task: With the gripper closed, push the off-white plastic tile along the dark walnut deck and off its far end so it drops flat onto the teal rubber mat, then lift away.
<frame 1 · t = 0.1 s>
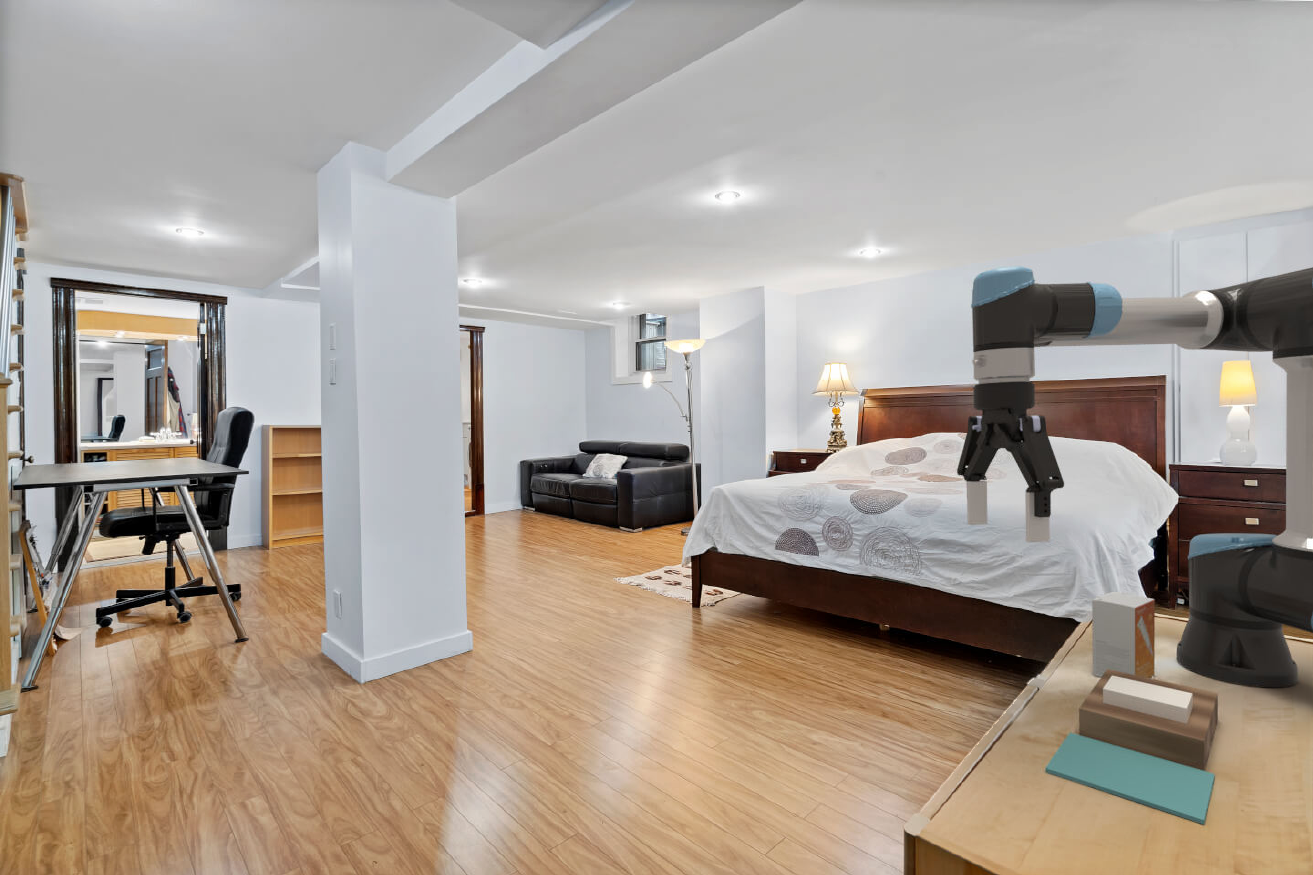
hand: (1005, 532, 89), 28 cm above the table, tool pointing down, fingers open, 13 cm apart
walnut deck: (1149, 728, 88), on the table
tile: (1147, 705, 87), point 4 cm above the table, touching walnut deck
teal mat: (1128, 774, 78), on the table
small box: (1123, 676, 106), on the table
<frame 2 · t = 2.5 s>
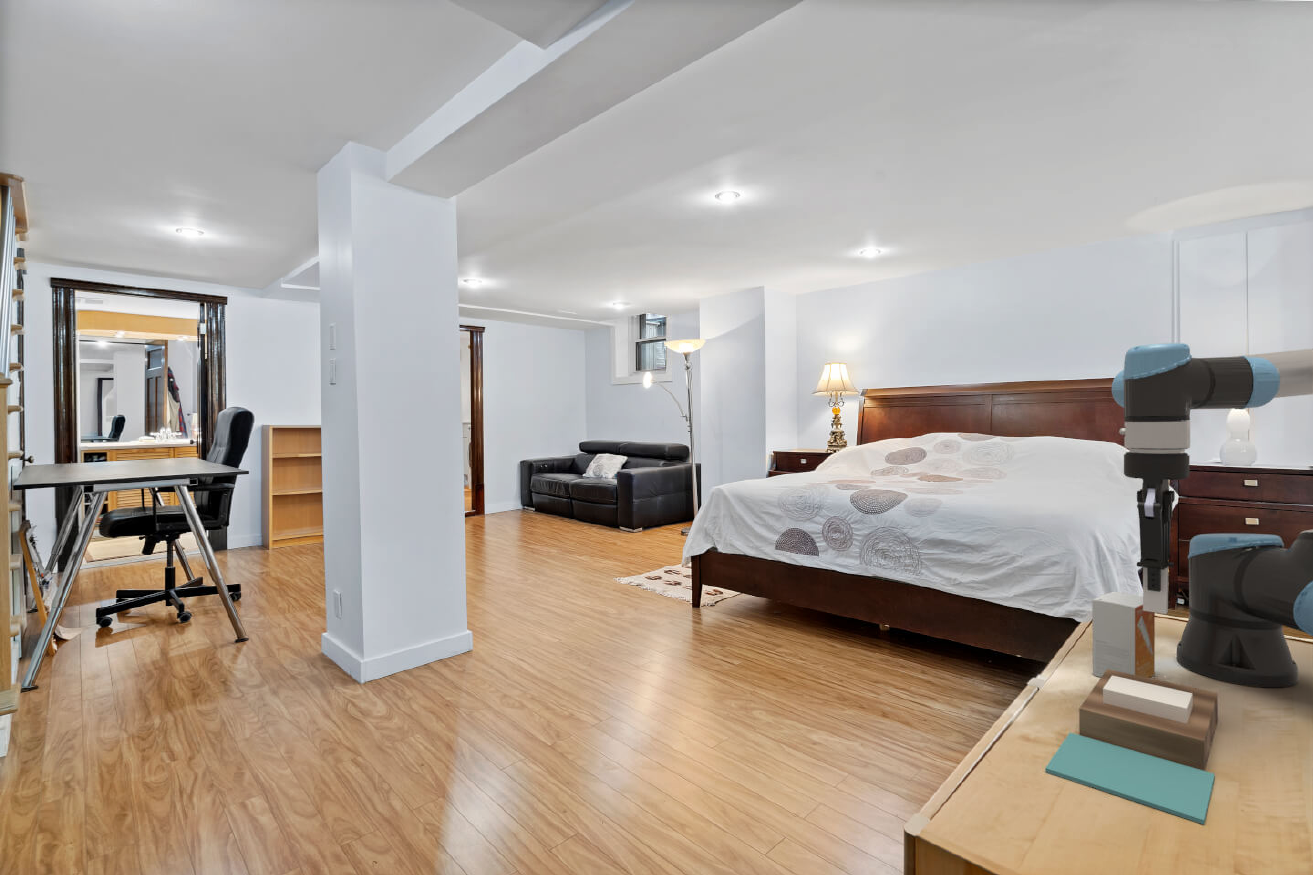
hand: (1155, 611, 93), 15 cm above the table, tool pointing down, fingers closed
nothing on the table moved.
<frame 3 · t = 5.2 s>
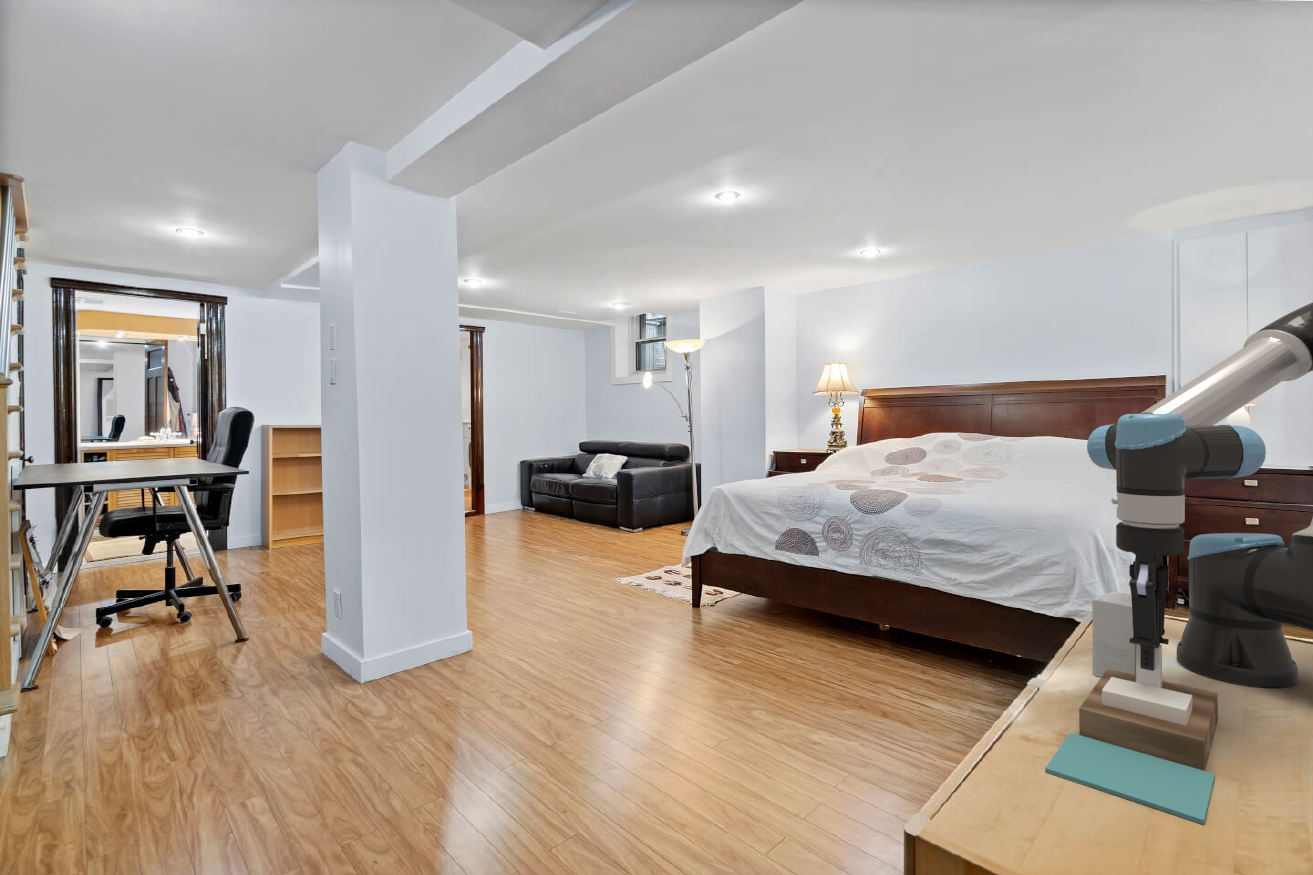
hand: (1148, 689, 89), 5 cm above the table, tool pointing down, fingers closed
tile: (1146, 706, 86), point 4 cm above the table, touching gripper, walnut deck
everything else where it was.
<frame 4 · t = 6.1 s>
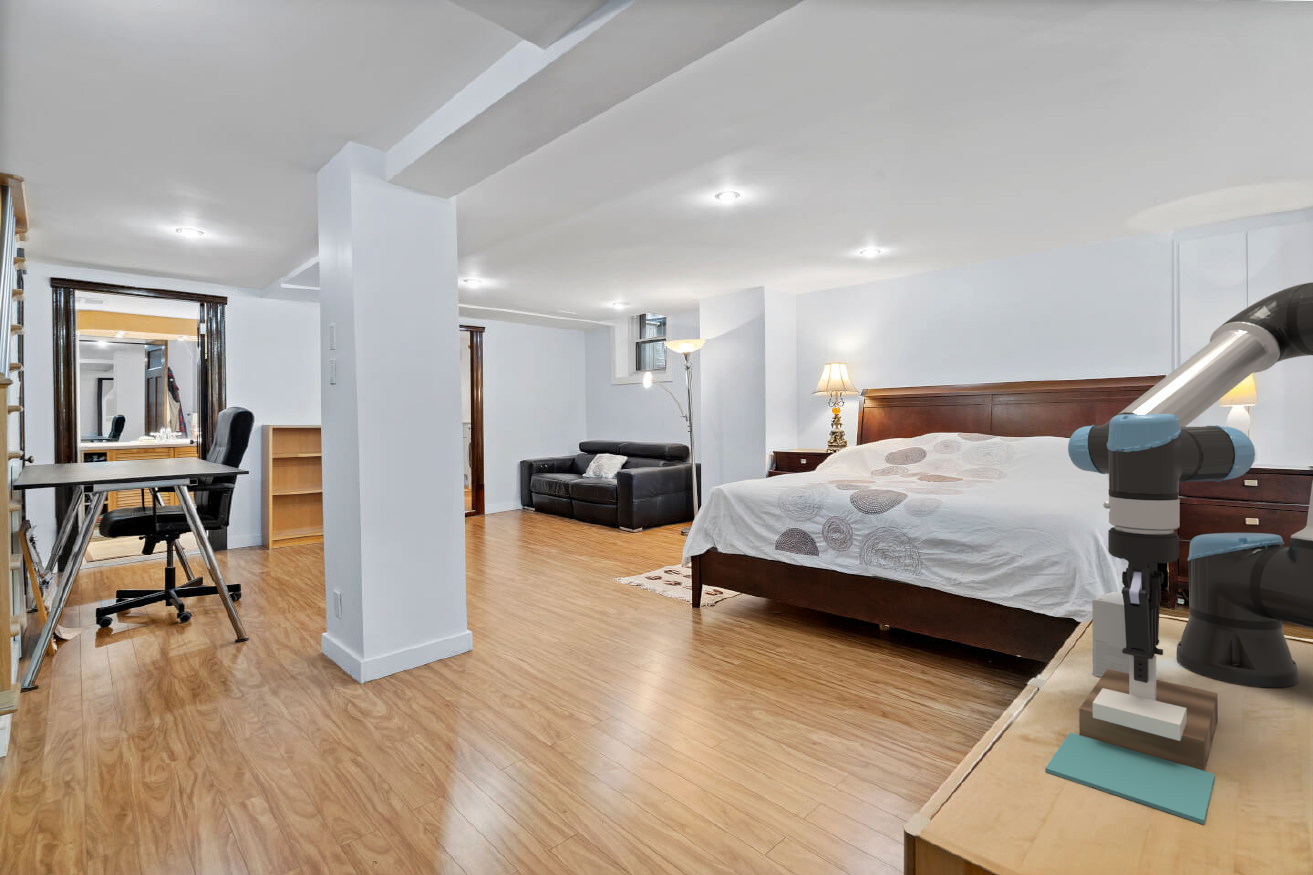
hand: (1142, 701, 85), 5 cm above the table, tool pointing down, fingers closed
tile: (1138, 720, 83), point 4 cm above the table, touching gripper
everything else where it was.
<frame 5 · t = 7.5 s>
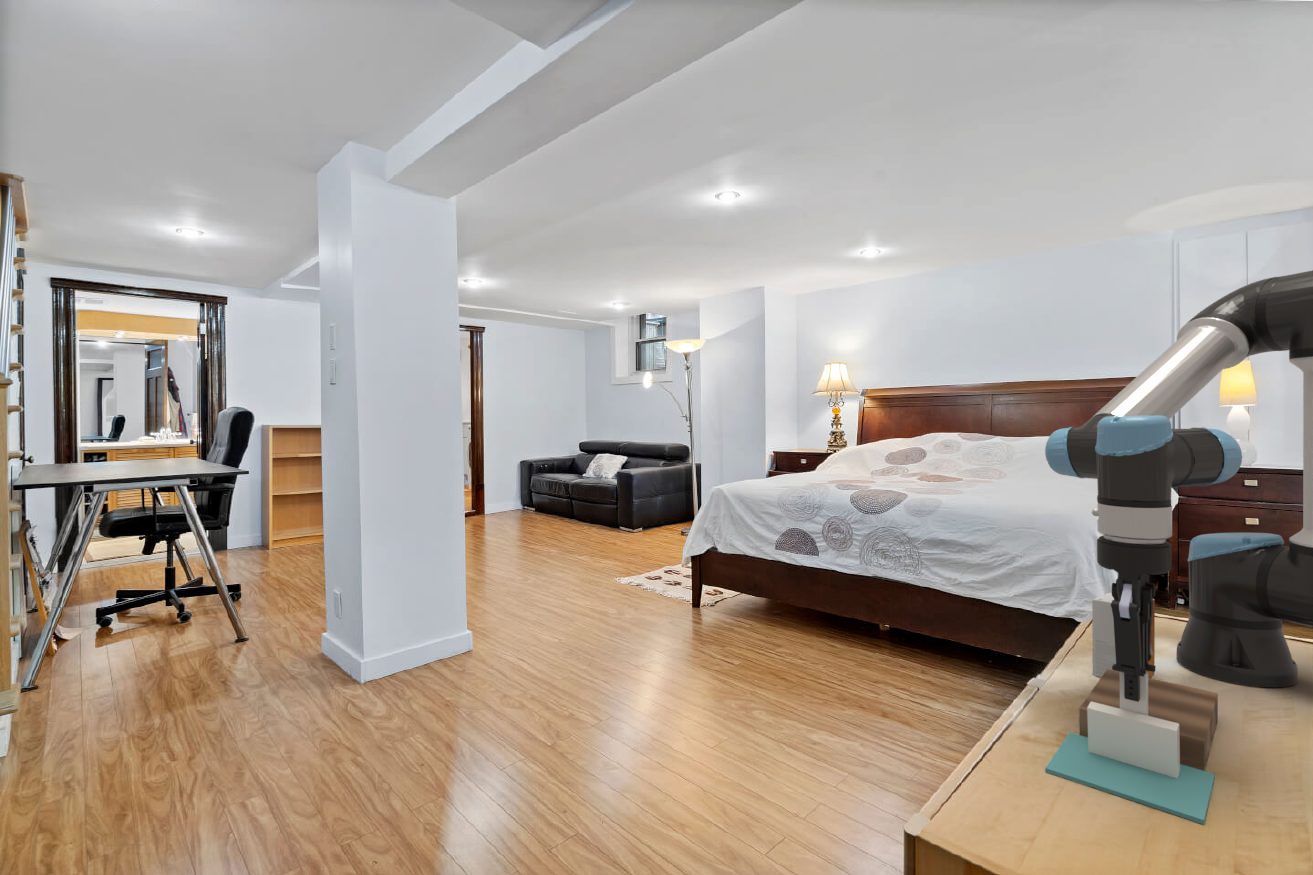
hand: (1134, 721, 80), 5 cm above the table, tool pointing down, fingers closed
tile: (1133, 734, 80), point 4 cm above the table, tilted 95°, touching gripper, teal mat
everything else where it was.
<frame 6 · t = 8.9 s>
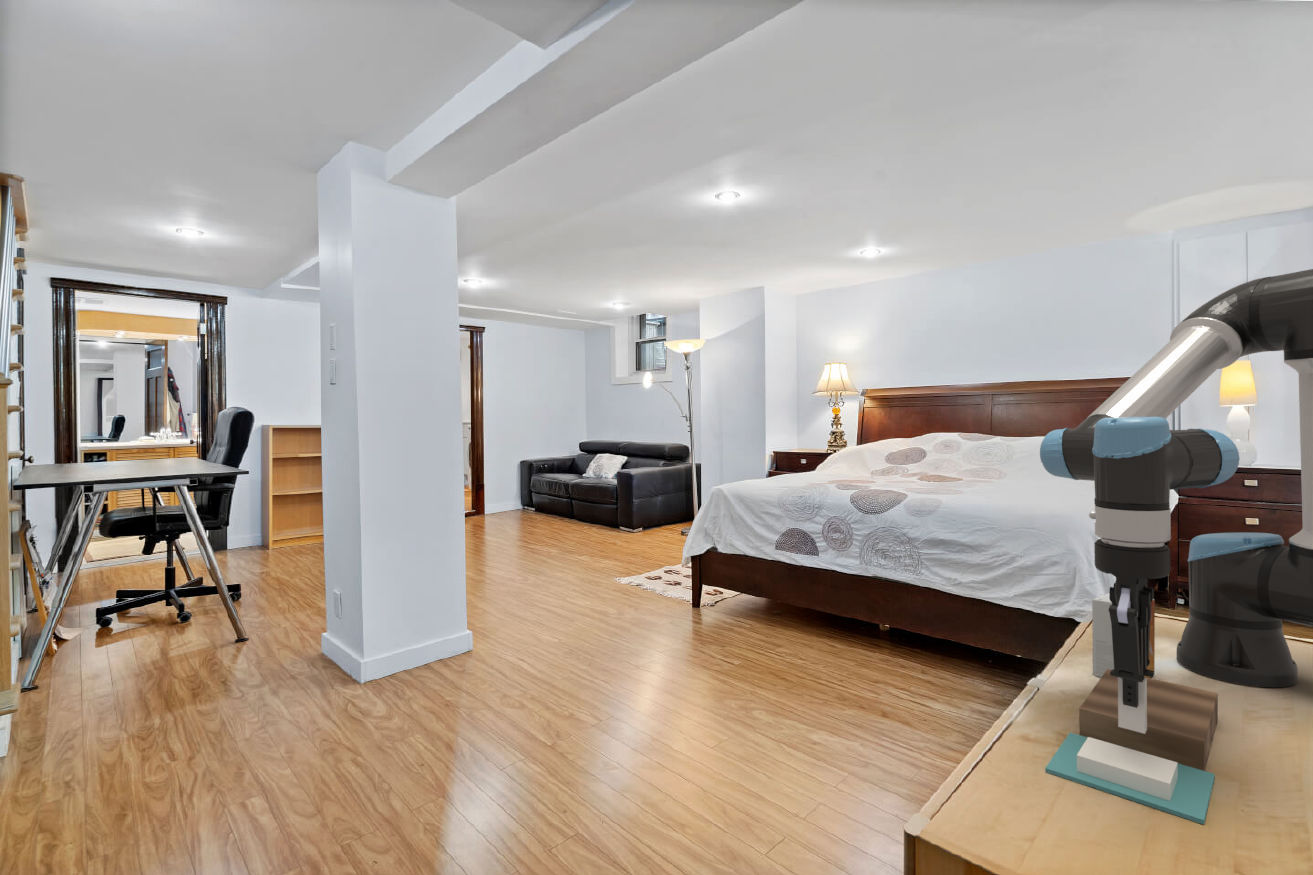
hand: (1132, 727, 79), 5 cm above the table, tool pointing down, fingers closed
tile: (1126, 758, 77), point 2 cm above the table, tilted 180°, touching teal mat
everything else where it was.
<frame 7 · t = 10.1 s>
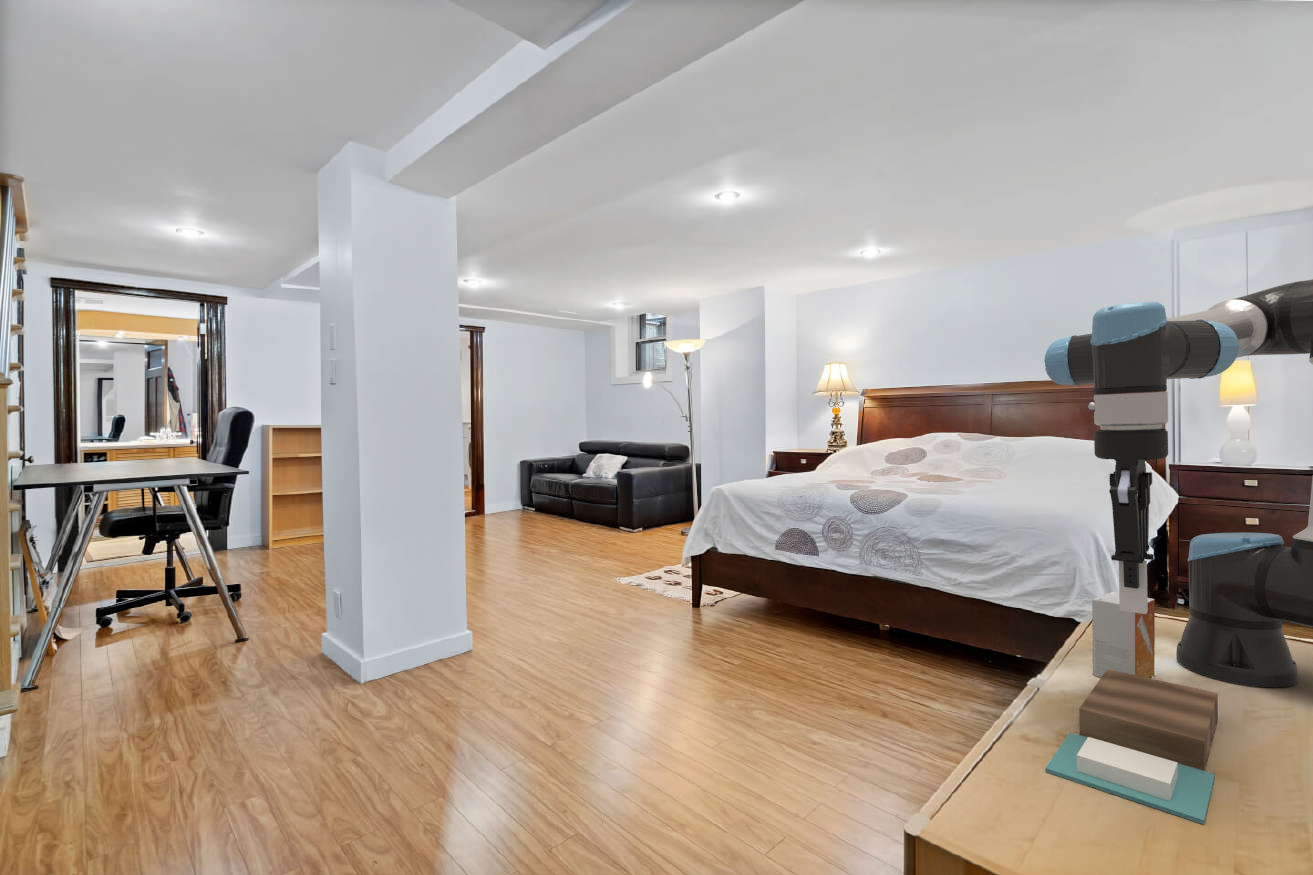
hand: (1133, 610, 81), 19 cm above the table, tool pointing down, fingers closed
nothing on the table moved.
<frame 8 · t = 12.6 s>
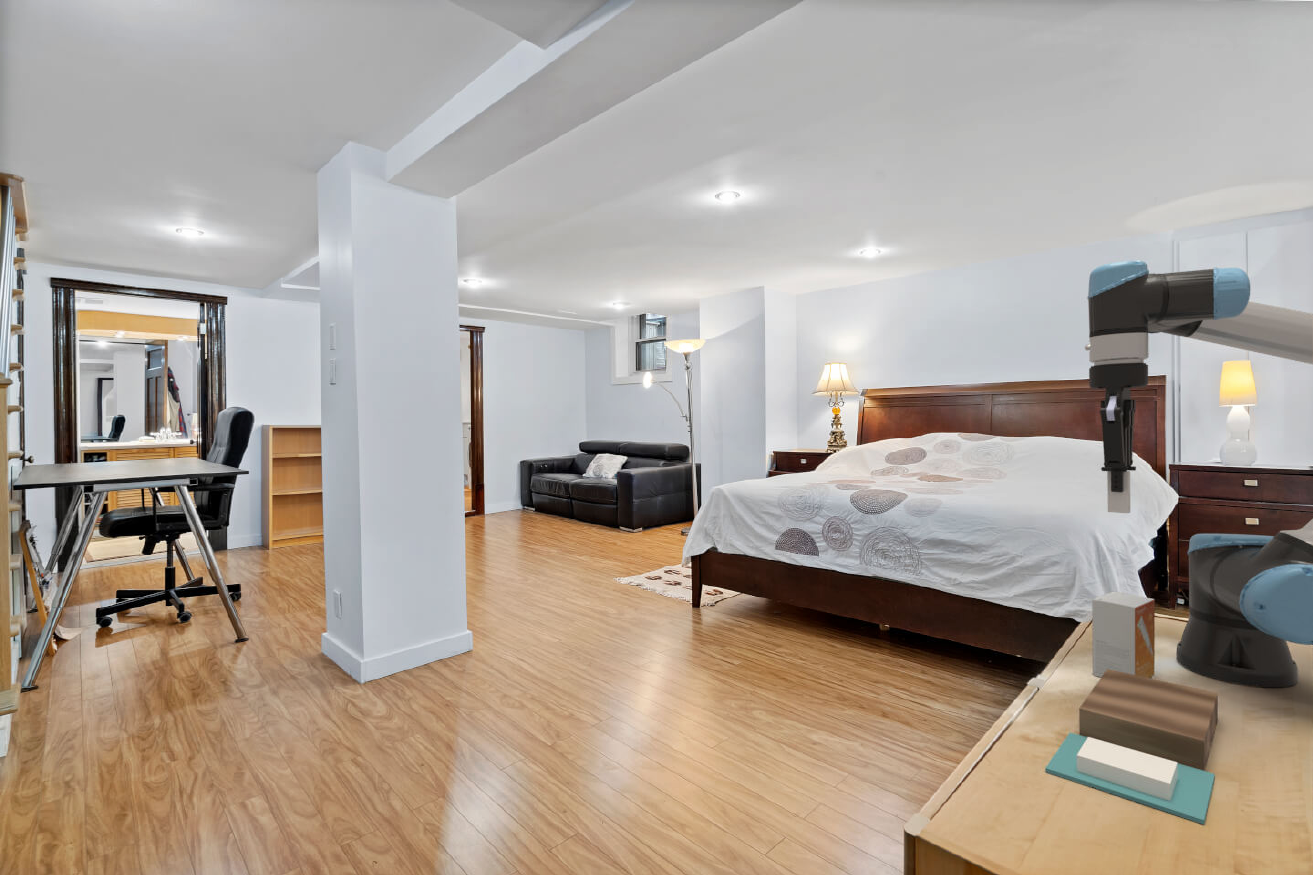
hand: (1118, 511, 100), 28 cm above the table, tool pointing down, fingers closed
nothing on the table moved.
at the end: tile point 2.5 cm above the table; tile 1.2 cm from the teal mat (horizontally); tile touching teal mat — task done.
